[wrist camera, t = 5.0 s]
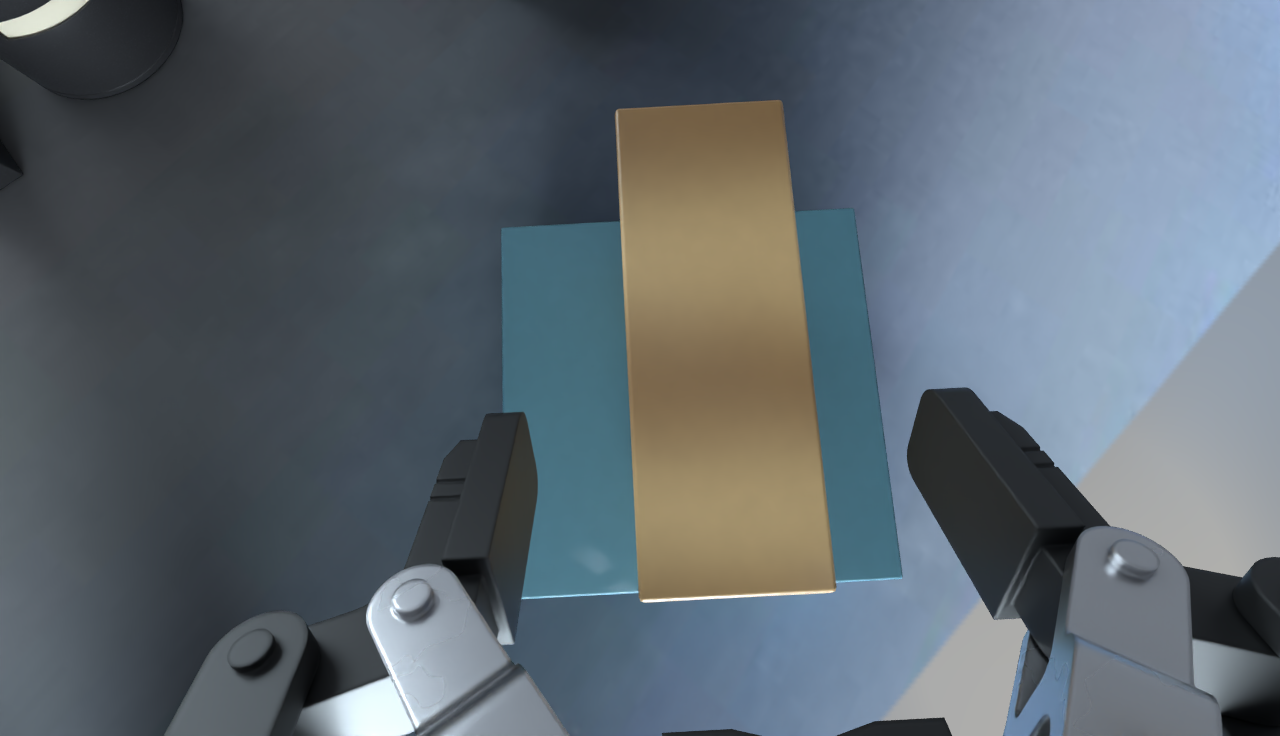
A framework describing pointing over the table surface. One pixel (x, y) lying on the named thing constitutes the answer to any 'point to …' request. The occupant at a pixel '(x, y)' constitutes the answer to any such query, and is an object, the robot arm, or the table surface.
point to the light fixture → (85, 47)
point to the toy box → (600, 416)
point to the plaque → (718, 357)
